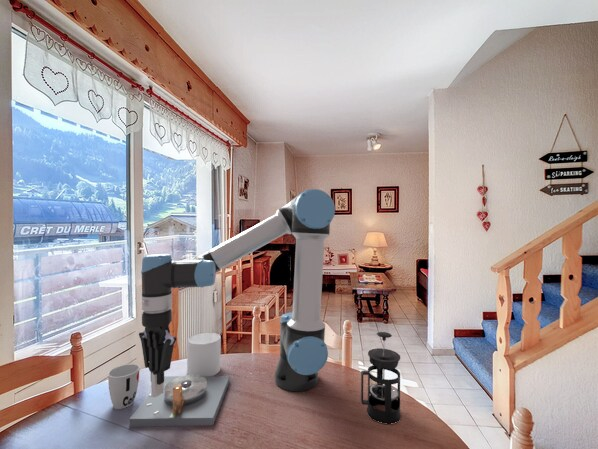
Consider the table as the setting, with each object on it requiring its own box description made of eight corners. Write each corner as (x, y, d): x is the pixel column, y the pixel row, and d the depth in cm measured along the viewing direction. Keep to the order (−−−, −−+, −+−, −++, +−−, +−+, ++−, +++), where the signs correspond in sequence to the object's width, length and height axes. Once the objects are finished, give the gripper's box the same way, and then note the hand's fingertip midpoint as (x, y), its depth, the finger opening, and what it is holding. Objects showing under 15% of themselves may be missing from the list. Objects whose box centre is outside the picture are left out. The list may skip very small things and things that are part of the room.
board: (229, 381, 100) (229, 375, 100) (213, 425, 78) (213, 417, 78) (164, 382, 99) (164, 375, 99) (129, 426, 77) (129, 418, 77)
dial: (171, 383, 94) (171, 363, 94) (209, 381, 95) (210, 361, 95) (152, 415, 78) (152, 391, 78) (199, 412, 79) (199, 388, 79)
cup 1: (124, 414, 82) (125, 378, 82) (100, 410, 84) (100, 375, 84) (145, 397, 90) (145, 365, 90) (122, 394, 92) (123, 362, 92)
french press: (397, 404, 88) (397, 328, 88) (408, 425, 79) (408, 339, 79) (358, 403, 88) (358, 327, 89) (364, 424, 79) (365, 339, 79)
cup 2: (207, 360, 116) (207, 330, 116) (227, 369, 109) (227, 337, 109) (180, 372, 106) (180, 339, 106) (199, 382, 99) (200, 347, 99)
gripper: (129, 310, 81) (129, 395, 81) (160, 316, 75) (161, 408, 75) (154, 303, 88) (154, 382, 88) (184, 309, 82) (184, 393, 81)
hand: (157, 394), depth 81 cm, fingers closed
